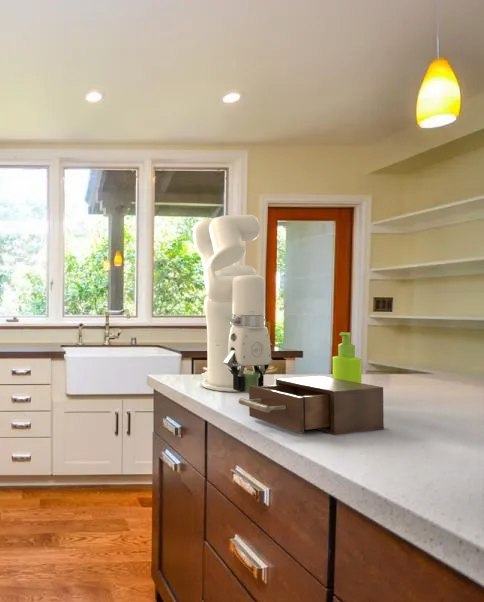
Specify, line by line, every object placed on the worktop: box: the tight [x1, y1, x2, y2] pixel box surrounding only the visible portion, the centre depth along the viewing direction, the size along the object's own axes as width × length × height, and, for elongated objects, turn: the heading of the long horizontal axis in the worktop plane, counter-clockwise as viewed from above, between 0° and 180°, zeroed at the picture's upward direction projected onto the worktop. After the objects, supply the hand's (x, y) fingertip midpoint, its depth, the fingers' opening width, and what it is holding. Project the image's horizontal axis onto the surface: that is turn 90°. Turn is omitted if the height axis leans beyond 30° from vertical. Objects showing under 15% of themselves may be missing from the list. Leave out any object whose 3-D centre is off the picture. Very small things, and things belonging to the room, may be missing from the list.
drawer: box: [238, 384, 331, 434], centre depth 82 cm, size 19×12×7 cm, turn 105°
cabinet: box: [275, 375, 385, 436], centre depth 86 cm, size 15×14×9 cm
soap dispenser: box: [331, 331, 362, 383], centre depth 98 cm, size 6×7×20 cm
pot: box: [243, 369, 260, 394], centre depth 98 cm, size 5×5×5 cm
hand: (248, 389), depth 98 cm, fingers closed on pot, 5 cm apart
